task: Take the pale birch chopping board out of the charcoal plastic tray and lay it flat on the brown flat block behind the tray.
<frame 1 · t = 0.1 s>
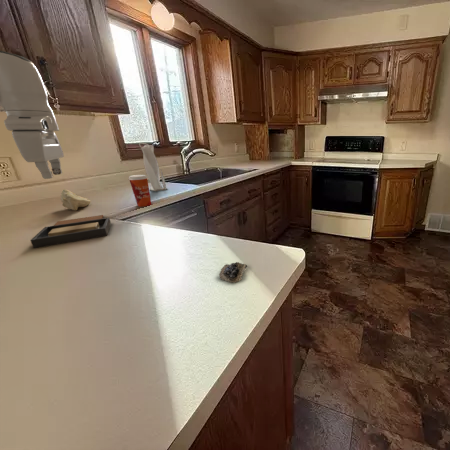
hand: (53, 176, 70), 20 cm above the counter, tool pointing down, fingers open, 8 cm apart
tray: (77, 234, 82), on the counter
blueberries: (234, 274, 57), on the counter
paper cup: (145, 205, 118), on the counter
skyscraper: (157, 190, 151), on the counter
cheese: (79, 209, 113), on the counter
board: (76, 233, 82), point 1 cm above the counter, touching tray
brown flat block: (79, 222, 94), on the counter
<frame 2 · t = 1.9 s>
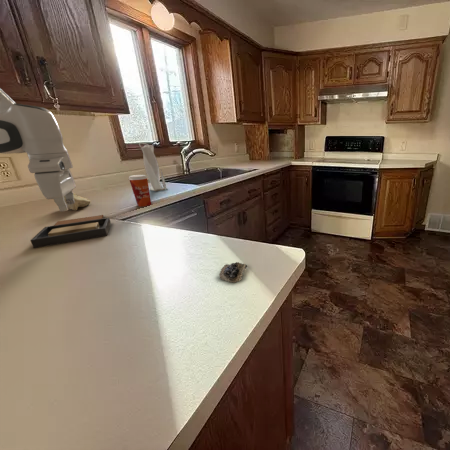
hand: (68, 207, 79), 10 cm above the counter, tool pointing down, fingers open, 8 cm apart
nothing on the counter moved.
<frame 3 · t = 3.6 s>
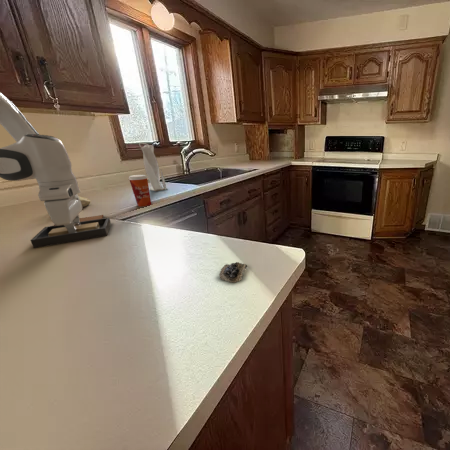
hand: (75, 230, 81), 2 cm above the counter, tool pointing down, fingers closed on board, 5 cm apart
board: (76, 233, 82), point 1 cm above the counter, touching gripper, tray
everything else where it was.
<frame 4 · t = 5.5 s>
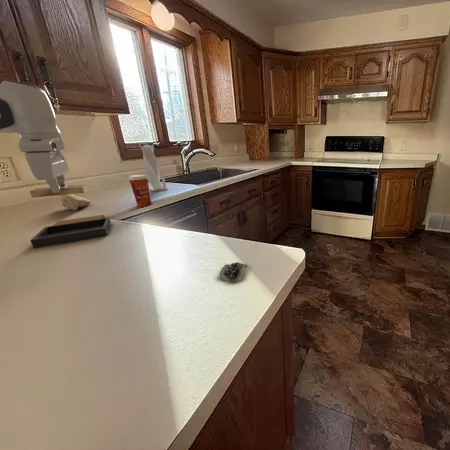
hand: (60, 190, 77), 15 cm above the counter, tool pointing down, fingers closed on board, 5 cm apart
board: (61, 193, 77), point 14 cm above the counter, touching gripper
everything else where it was.
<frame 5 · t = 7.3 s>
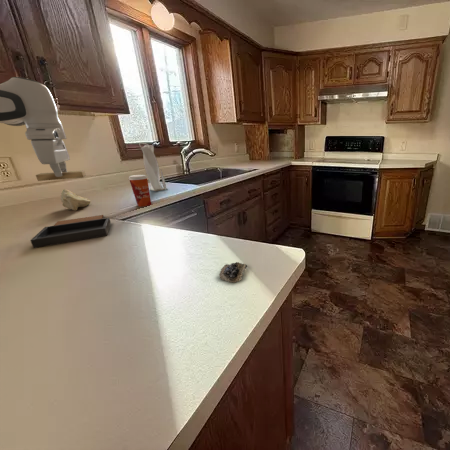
hand: (62, 175, 87), 18 cm above the counter, tool pointing down, fingers closed on board, 5 cm apart
board: (63, 178, 87), point 17 cm above the counter, touching gripper
everything else where it was.
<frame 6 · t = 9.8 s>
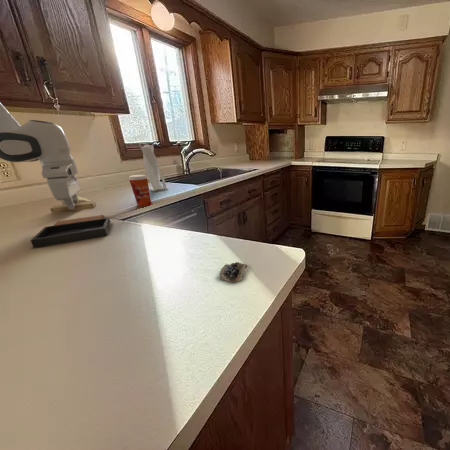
hand: (74, 207, 92), 6 cm above the counter, tool pointing down, fingers closed on board, 5 cm apart
board: (75, 209, 92), point 5 cm above the counter, touching gripper
everything else where it was.
when the fingers open (1 cm above the counter, at t = 11.4 s): board stays where it is, resting on brown flat block.
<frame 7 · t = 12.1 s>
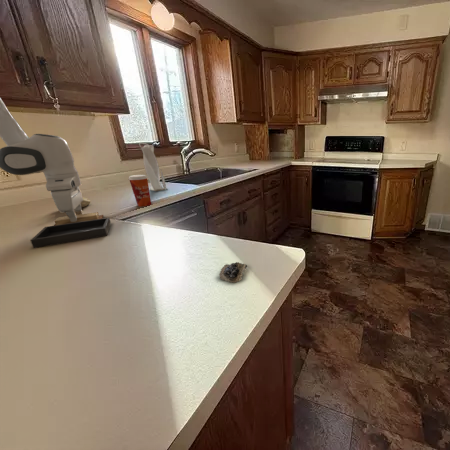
hand: (77, 217, 93), 2 cm above the counter, tool pointing down, fingers open, 8 cm apart
board: (79, 221, 94), point 1 cm above the counter, touching brown flat block
everything else where it was.
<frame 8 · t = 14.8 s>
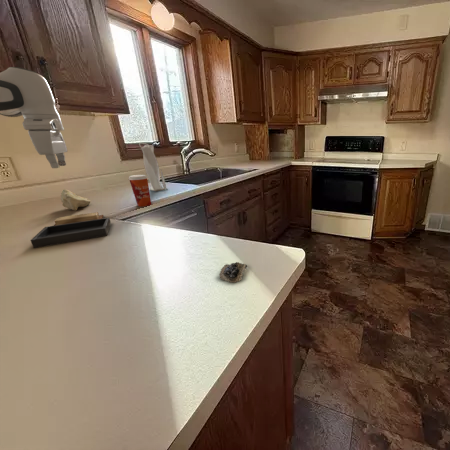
hand: (59, 166, 87), 21 cm above the counter, tool pointing down, fingers open, 8 cm apart
nothing on the counter moved.
at the end: board inside the target area on the brown flat block (0.1 cm from its centre), point 0.6 cm above the brown flat block's base; board touching brown flat block; board tilted 0° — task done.
